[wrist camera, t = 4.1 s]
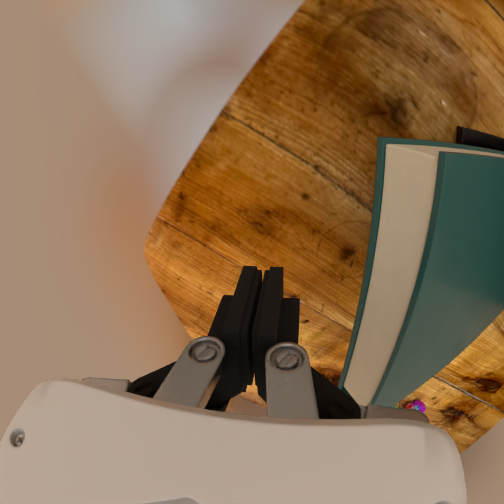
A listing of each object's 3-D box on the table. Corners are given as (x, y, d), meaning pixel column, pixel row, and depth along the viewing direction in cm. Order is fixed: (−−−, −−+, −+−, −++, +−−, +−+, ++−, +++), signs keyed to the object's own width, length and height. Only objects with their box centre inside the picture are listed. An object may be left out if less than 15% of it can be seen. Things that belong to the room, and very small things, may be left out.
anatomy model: (410, 441, 31) (434, 425, 27) (364, 444, 32) (384, 429, 28) (408, 413, 35) (429, 394, 31) (364, 414, 36) (382, 395, 32)
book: (336, 390, 16) (363, 424, 13) (377, 136, 9) (446, 152, 6) (485, 292, 22) (505, 306, 19) (519, 154, 15) (545, 165, 12)
